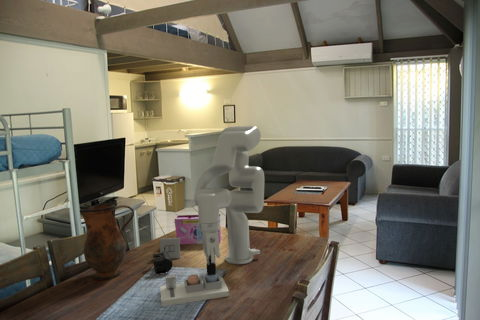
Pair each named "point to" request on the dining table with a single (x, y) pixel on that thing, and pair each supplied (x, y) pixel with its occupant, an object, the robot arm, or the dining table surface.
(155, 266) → the end cap
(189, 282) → the button terracotta
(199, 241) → the gum box
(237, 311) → the dining table surface
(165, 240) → the electrical switch
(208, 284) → the switch panel
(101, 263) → the pitcher
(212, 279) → the button blue
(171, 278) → the paddle
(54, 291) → the dining table surface
